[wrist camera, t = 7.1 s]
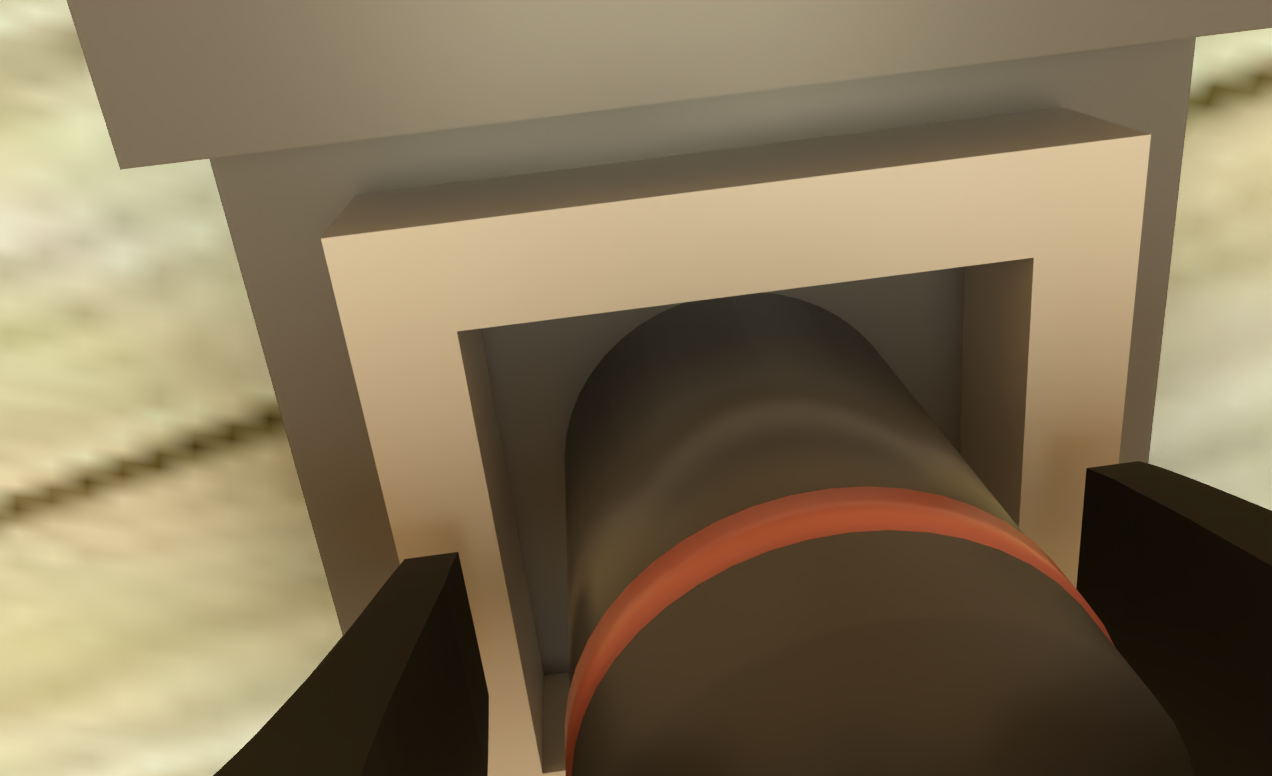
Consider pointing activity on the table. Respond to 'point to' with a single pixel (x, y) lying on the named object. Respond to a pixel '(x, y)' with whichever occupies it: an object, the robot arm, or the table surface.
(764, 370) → the lens
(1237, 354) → the table surface
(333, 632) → the table surface
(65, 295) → the table surface
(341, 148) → the base with square socket
